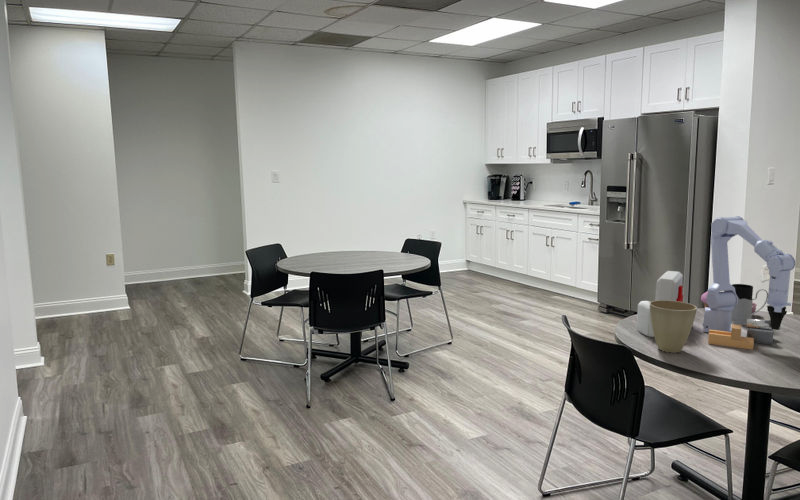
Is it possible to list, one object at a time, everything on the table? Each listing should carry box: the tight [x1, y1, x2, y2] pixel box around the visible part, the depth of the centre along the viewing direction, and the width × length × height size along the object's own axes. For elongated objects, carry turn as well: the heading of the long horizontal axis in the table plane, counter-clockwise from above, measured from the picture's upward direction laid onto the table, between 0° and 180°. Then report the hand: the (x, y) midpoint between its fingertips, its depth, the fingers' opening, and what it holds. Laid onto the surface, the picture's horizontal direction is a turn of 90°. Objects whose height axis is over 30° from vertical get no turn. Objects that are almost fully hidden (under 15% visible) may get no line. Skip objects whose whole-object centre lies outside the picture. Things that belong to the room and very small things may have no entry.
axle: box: [745, 318, 782, 331], centre depth 209 cm, size 10×3×3 cm, turn 60°
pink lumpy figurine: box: [751, 302, 757, 314], centre depth 253 cm, size 10×5×7 cm, turn 149°
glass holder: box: [731, 283, 769, 326], centre depth 242 cm, size 9×14×15 cm, turn 82°
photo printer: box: [636, 300, 655, 338], centre depth 228 cm, size 10×4×12 cm, turn 3°
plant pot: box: [649, 300, 698, 354], centre depth 208 cm, size 15×15×16 cm
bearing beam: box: [707, 323, 755, 350], centre depth 214 cm, size 14×6×7 cm, turn 60°
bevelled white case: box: [654, 270, 684, 302], centre depth 240 cm, size 21×8×20 cm, turn 148°
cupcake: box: [700, 291, 709, 313], centre depth 256 cm, size 9×9×10 cm
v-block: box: [746, 327, 774, 346], centre depth 219 cm, size 8×10×4 cm
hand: (774, 328), depth 207 cm, fingers closed on axle, 3 cm apart
